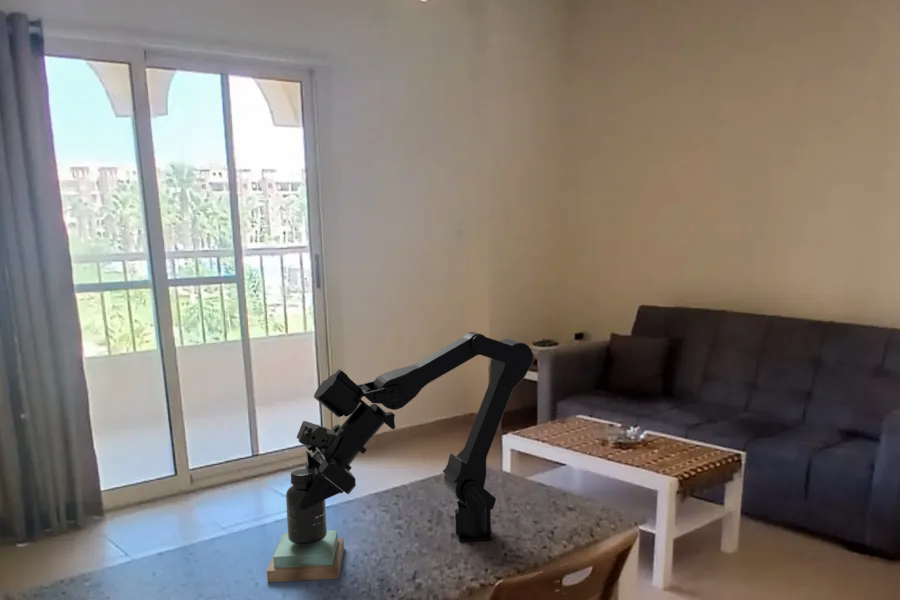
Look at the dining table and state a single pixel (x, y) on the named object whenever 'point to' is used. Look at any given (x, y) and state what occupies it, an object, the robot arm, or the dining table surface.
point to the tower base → (307, 570)
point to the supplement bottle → (304, 522)
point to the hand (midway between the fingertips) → (298, 501)
